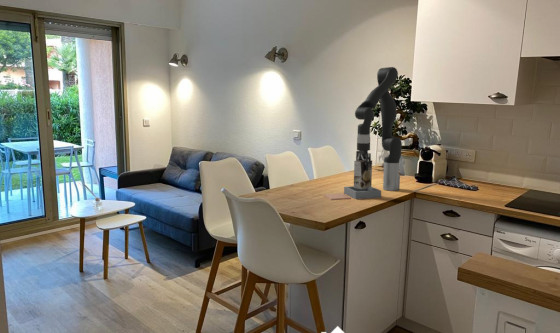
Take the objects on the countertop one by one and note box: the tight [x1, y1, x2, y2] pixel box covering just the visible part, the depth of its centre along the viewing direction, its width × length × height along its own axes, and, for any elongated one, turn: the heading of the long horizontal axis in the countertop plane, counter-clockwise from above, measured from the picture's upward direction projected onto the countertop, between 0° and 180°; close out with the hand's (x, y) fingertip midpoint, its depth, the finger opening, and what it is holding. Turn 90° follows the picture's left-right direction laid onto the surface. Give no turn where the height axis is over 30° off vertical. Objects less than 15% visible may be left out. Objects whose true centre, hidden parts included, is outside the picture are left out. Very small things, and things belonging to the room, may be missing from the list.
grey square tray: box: [343, 185, 382, 200], centre depth 245 cm, size 16×16×4 cm
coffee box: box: [353, 159, 373, 189], centre depth 243 cm, size 9×6×16 cm
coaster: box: [322, 192, 352, 201], centre depth 241 cm, size 12×12×1 cm
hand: (363, 169), depth 243 cm, fingers closed on coffee box, 8 cm apart
